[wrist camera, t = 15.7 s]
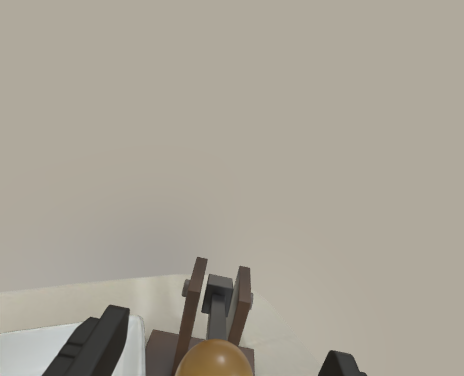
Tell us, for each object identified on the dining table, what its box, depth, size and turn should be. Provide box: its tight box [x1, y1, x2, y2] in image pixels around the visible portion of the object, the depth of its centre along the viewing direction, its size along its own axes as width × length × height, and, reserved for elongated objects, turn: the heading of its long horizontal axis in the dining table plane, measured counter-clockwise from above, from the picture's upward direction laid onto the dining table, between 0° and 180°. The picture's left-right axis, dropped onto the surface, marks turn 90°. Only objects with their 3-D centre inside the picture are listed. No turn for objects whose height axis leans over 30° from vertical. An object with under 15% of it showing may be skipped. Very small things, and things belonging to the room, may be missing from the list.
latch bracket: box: [145, 257, 255, 376], centre depth 24 cm, size 9×12×14 cm
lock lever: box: [175, 274, 253, 376], centre depth 17 cm, size 14×4×4 cm, turn 178°
